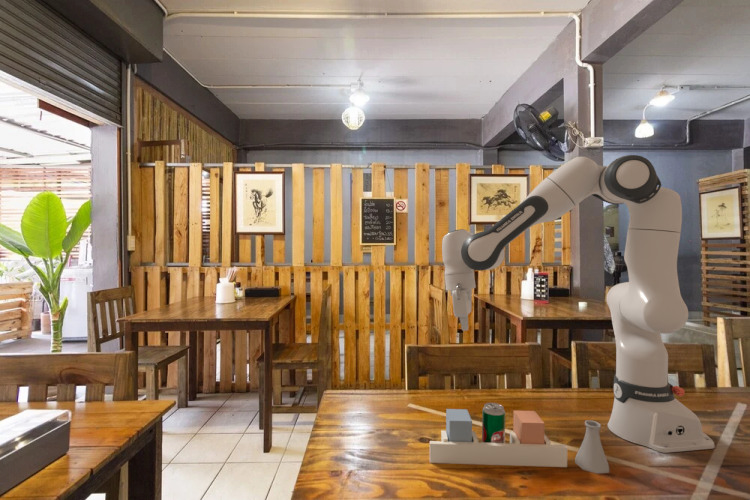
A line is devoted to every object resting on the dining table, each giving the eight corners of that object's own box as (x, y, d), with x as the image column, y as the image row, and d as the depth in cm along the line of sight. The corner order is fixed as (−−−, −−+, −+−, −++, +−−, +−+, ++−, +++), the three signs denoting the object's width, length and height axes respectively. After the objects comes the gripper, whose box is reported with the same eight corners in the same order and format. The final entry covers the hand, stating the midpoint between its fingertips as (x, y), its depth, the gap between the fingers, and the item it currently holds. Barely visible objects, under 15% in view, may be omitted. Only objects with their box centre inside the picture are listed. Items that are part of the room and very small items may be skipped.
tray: (538, 431, 102) (538, 410, 102) (567, 470, 85) (567, 445, 85) (424, 428, 104) (424, 407, 104) (430, 465, 87) (430, 441, 87)
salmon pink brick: (532, 445, 94) (533, 409, 93) (543, 462, 87) (544, 423, 86) (511, 445, 94) (512, 408, 94) (521, 461, 87) (521, 422, 87)
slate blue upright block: (466, 443, 95) (466, 407, 94) (471, 460, 88) (472, 421, 87) (445, 443, 95) (445, 407, 95) (449, 459, 88) (449, 420, 88)
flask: (616, 479, 82) (617, 433, 82) (579, 475, 83) (580, 429, 83) (603, 460, 89) (604, 417, 89) (569, 456, 90) (570, 414, 90)
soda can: (492, 465, 87) (493, 413, 86) (477, 454, 91) (477, 404, 91) (509, 459, 89) (510, 408, 89) (493, 449, 94) (493, 400, 93)
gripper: (468, 282, 106) (474, 333, 104) (472, 283, 125) (477, 326, 124) (445, 284, 108) (450, 334, 106) (453, 284, 127) (457, 327, 126)
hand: (465, 330), depth 115 cm, fingers closed
